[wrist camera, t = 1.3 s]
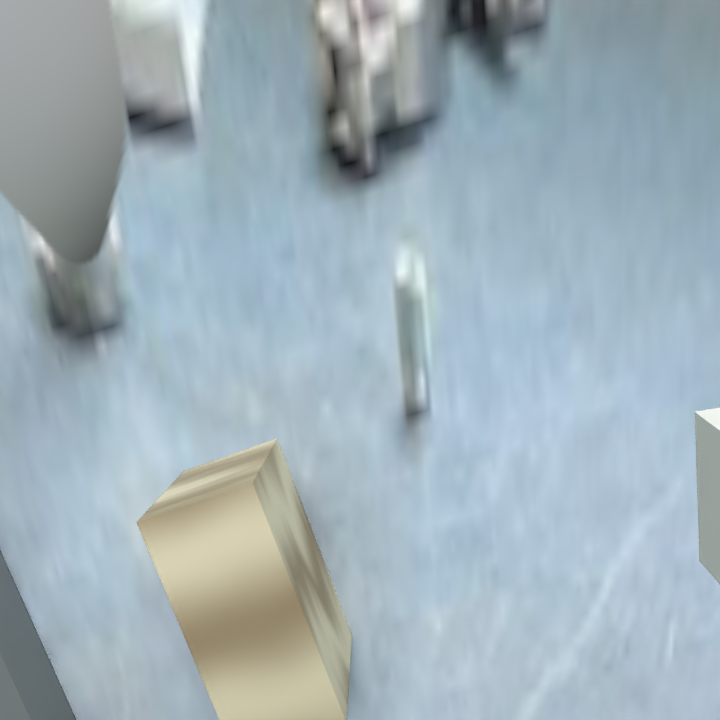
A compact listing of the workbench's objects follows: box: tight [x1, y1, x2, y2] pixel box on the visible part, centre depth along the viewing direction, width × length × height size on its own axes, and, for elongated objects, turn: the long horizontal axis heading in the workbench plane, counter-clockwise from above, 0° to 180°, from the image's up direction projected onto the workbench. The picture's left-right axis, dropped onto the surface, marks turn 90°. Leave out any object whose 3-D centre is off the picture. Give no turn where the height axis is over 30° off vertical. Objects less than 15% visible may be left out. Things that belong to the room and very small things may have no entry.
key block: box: [137, 439, 352, 720], centre depth 32 cm, size 11×5×7 cm, turn 20°
